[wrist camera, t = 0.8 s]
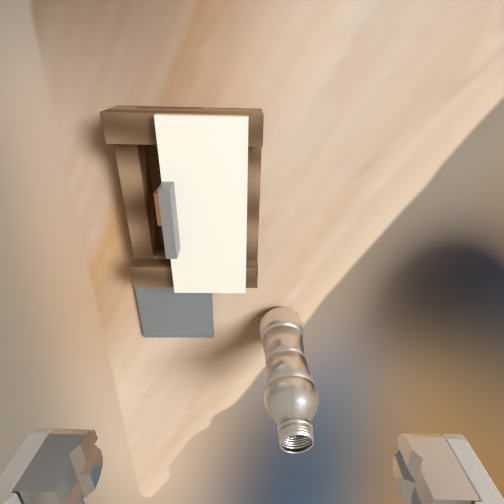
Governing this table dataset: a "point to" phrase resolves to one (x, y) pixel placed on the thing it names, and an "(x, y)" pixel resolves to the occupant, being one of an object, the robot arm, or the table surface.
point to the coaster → (174, 313)
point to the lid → (204, 200)
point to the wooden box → (139, 191)
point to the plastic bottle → (288, 379)
